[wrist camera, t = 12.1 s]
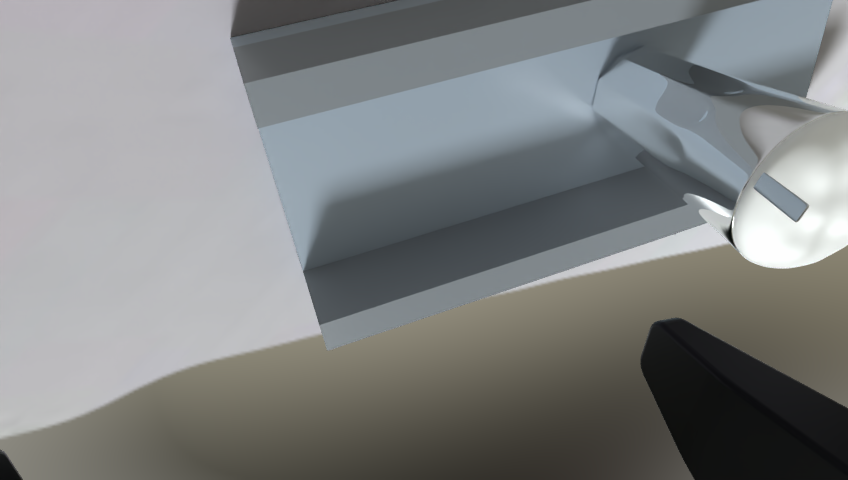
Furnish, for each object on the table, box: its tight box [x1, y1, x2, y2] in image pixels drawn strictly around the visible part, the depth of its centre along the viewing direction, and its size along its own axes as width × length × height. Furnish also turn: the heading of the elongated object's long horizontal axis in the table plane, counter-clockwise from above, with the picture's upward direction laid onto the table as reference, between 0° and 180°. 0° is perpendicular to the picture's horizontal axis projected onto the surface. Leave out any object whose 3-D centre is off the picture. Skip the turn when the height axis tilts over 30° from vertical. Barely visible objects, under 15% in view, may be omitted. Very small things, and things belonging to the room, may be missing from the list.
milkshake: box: [592, 47, 848, 268], centre depth 18 cm, size 5×5×10 cm
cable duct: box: [230, 0, 833, 350], centre depth 21 cm, size 22×9×4 cm, turn 96°
